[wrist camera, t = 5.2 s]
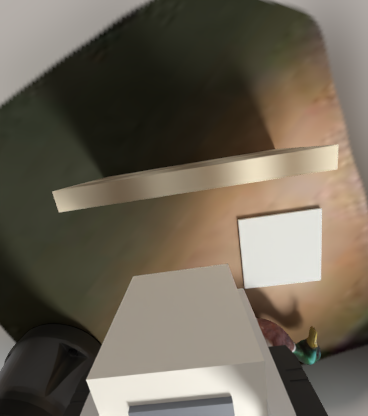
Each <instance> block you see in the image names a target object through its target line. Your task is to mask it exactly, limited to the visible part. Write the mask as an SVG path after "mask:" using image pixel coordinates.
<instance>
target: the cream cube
mask: <svg viewBox="0 0 368 416" xmlns="http://www.w3.org/2000/svg"><path fill="white" fill-rule="evenodd" d="M86 381H87V384H88V386H89V389H90V392H91V394H92V397H93V400H94V402H95V405H96V408H97V410H98V413H99V416H268V412H267V400H266V399H268V398H267V385H266V372H265V361H264V358H263V355H262V353H261V350H260V347H259V345H258V342H257V340H256V337H255V334H254V332H253V329H252V326H251V324H250V321H249V318H248V316H247V313H246V311H245V308H244V305H243V303H242V300H241V297H240V295H239V292H238V289H237V287H236V284H235V282H234V279H233V276H232V274H231V271H230V268H229V266H228V264H222V265H215V266H207V267H200V268H192V269H185V270H177V271H170V272H162V273H155V274H147V275H140V276H133V278H132V280H131V282H130V285H129V287H128V289H127V291H126V293H125V296H124V298H123V300H122V302H121V304H120V307H119V309H118V311H117V313H116V315H115V317H114V320H113V322H112V324H111V326H110V328H109V331H108V333H107V335H106V337H105V339H104V342H103V344H102V346H101V348H100V350H99V353H98V355H97V357H96V359H95V361H94V363H93V366H92V368H91V370H90V372H89V374H88V377H87V379H86Z"/></svg>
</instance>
